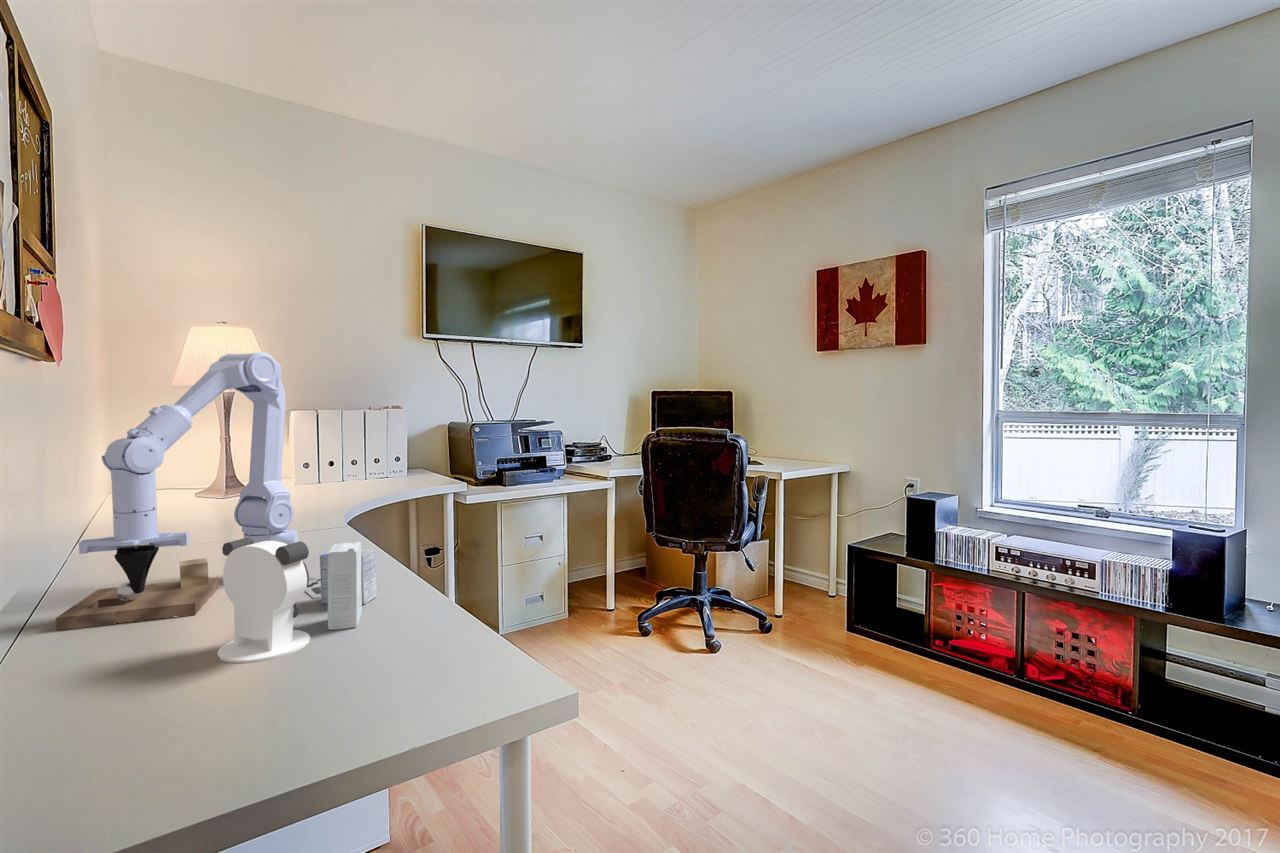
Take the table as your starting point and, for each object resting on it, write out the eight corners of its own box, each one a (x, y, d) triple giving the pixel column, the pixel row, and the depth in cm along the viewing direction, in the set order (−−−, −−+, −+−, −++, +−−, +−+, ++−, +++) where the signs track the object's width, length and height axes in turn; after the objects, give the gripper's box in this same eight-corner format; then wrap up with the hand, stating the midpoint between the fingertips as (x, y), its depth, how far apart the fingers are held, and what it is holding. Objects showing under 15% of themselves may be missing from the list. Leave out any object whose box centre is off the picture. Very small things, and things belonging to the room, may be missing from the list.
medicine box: (377, 597, 114) (376, 549, 114) (364, 605, 110) (362, 555, 109) (335, 596, 115) (333, 548, 114) (320, 604, 110) (318, 554, 110)
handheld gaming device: (341, 570, 130) (365, 587, 119) (342, 574, 130) (365, 591, 119) (293, 579, 125) (313, 597, 113) (293, 582, 125) (313, 601, 113)
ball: (117, 585, 107) (125, 602, 108) (110, 589, 104) (118, 606, 105) (139, 576, 109) (147, 593, 109) (132, 580, 106) (141, 597, 106)
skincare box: (333, 618, 103) (331, 543, 103) (363, 615, 105) (361, 541, 104) (326, 631, 97) (324, 552, 97) (359, 628, 99) (356, 549, 98)
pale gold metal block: (207, 579, 119) (206, 558, 119) (208, 584, 116) (207, 562, 116) (180, 583, 117) (179, 561, 116) (181, 588, 113) (180, 566, 113)
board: (218, 588, 120) (217, 577, 120) (195, 614, 105) (195, 602, 105) (98, 600, 113) (97, 589, 113) (56, 630, 99) (55, 617, 99)
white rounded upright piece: (331, 636, 96) (328, 535, 95) (268, 667, 85) (264, 553, 84) (265, 628, 99) (262, 531, 98) (197, 657, 88) (192, 548, 87)
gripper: (69, 517, 100) (72, 604, 101) (180, 511, 106) (183, 593, 106) (87, 510, 107) (91, 592, 107) (192, 504, 112) (194, 582, 113)
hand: (138, 592), depth 107 cm, fingers closed, pressing on ball
